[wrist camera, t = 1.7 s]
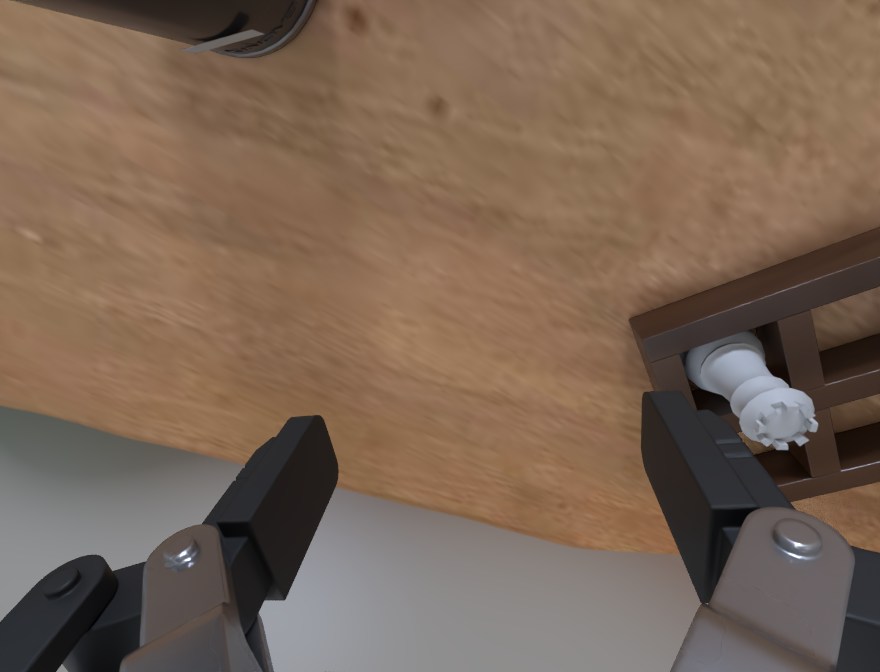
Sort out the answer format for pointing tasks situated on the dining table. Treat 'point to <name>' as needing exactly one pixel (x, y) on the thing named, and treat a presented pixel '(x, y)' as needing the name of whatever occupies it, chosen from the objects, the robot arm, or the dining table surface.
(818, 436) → the open grid frame
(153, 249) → the dining table surface
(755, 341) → the rook chess piece
